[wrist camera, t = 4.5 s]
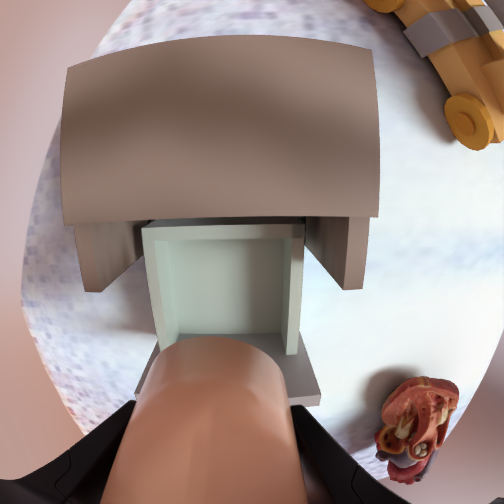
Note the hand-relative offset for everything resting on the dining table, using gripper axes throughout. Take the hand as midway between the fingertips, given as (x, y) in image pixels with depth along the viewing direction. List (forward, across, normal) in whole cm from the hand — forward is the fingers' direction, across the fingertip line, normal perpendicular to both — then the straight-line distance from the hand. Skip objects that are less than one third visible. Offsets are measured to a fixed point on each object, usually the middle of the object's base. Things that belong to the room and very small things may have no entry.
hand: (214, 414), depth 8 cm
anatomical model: (+13, -20, +18) cm, 30 cm away
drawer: (+13, 0, 0) cm, 13 cm away
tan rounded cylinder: (+1, 0, 0) cm, 1 cm away
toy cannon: (+13, -22, -23) cm, 35 cm away
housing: (+13, 0, -8) cm, 15 cm away
